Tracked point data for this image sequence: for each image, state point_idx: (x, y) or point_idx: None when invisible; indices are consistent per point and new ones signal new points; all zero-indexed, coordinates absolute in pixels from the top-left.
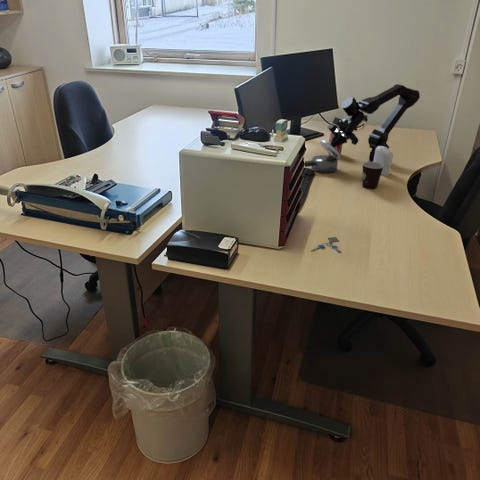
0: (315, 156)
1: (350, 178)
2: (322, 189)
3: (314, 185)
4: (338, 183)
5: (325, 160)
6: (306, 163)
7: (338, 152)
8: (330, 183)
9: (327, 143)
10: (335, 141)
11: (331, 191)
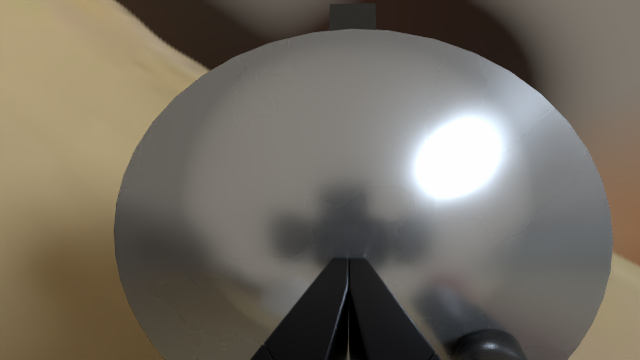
0: None
1: (63, 344)
2: (57, 49)
3: (129, 38)
4: (56, 186)
5: None
6: (329, 30)
7: (125, 292)
8: (91, 137)
9: (224, 65)
10: (268, 350)
11: (3, 78)
